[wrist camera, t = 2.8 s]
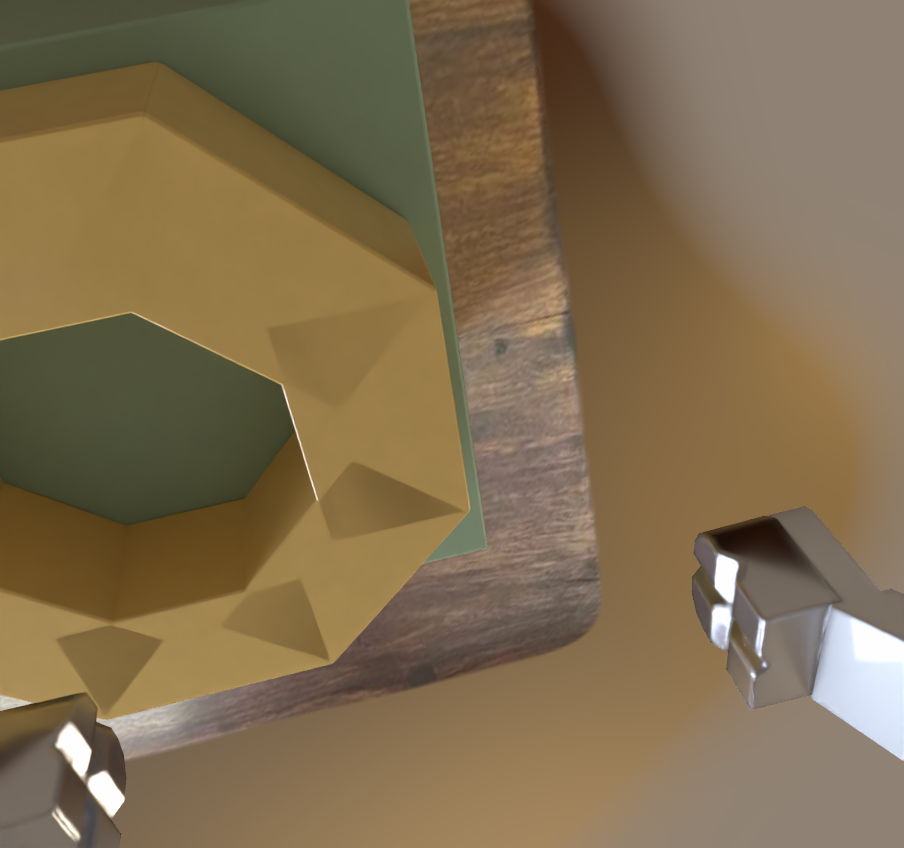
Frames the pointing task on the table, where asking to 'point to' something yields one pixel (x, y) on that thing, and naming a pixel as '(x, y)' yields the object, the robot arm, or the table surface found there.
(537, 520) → the table surface
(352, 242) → the brass ring
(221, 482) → the plinth
